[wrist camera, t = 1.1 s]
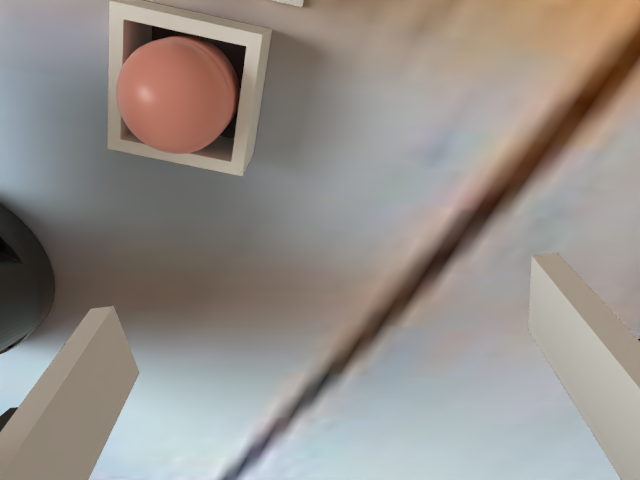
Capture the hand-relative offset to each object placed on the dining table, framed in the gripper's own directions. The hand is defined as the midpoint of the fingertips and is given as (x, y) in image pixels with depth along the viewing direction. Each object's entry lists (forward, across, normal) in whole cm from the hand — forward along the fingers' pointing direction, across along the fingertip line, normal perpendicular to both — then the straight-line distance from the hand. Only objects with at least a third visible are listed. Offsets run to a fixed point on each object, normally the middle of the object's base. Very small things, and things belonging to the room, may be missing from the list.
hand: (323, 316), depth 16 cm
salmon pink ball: (+20, -8, +5) cm, 22 cm away
